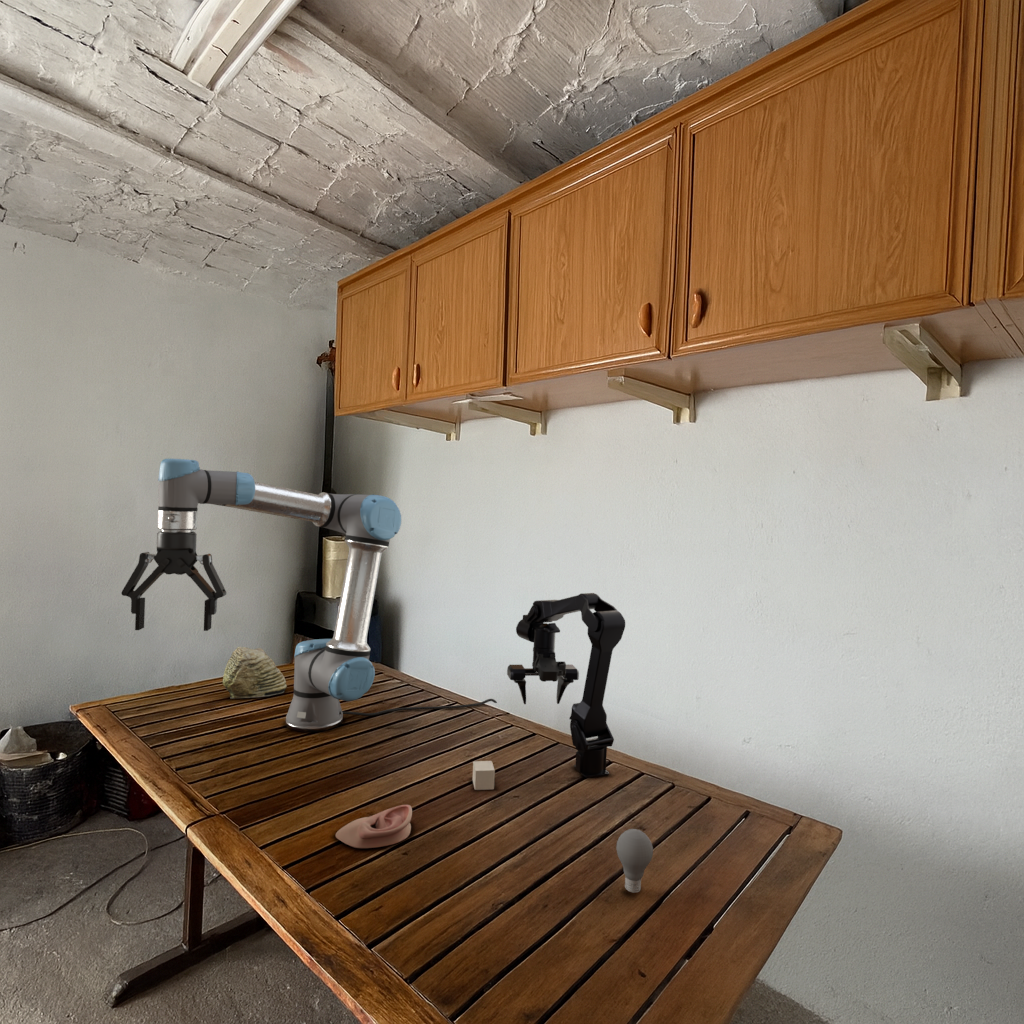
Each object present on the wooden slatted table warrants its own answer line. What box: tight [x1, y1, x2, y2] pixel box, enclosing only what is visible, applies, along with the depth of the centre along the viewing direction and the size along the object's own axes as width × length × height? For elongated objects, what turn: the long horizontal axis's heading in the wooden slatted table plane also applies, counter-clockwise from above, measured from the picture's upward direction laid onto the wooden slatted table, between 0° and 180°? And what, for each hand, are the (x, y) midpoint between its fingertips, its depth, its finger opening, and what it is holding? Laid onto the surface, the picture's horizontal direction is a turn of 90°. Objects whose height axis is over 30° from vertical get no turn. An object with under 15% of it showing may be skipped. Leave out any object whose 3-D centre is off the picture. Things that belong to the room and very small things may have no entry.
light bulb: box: [615, 828, 654, 894], centre depth 106 cm, size 6×6×10 cm
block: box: [471, 760, 496, 791], centre depth 143 cm, size 4×5×4 cm
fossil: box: [222, 646, 288, 699], centre depth 198 cm, size 9×18×15 cm, turn 132°
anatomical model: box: [335, 804, 413, 849], centre depth 120 cm, size 13×4×12 cm
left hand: (173, 629), depth 136 cm, fingers open, 13 cm apart
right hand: (541, 703), depth 171 cm, fingers open, 9 cm apart
